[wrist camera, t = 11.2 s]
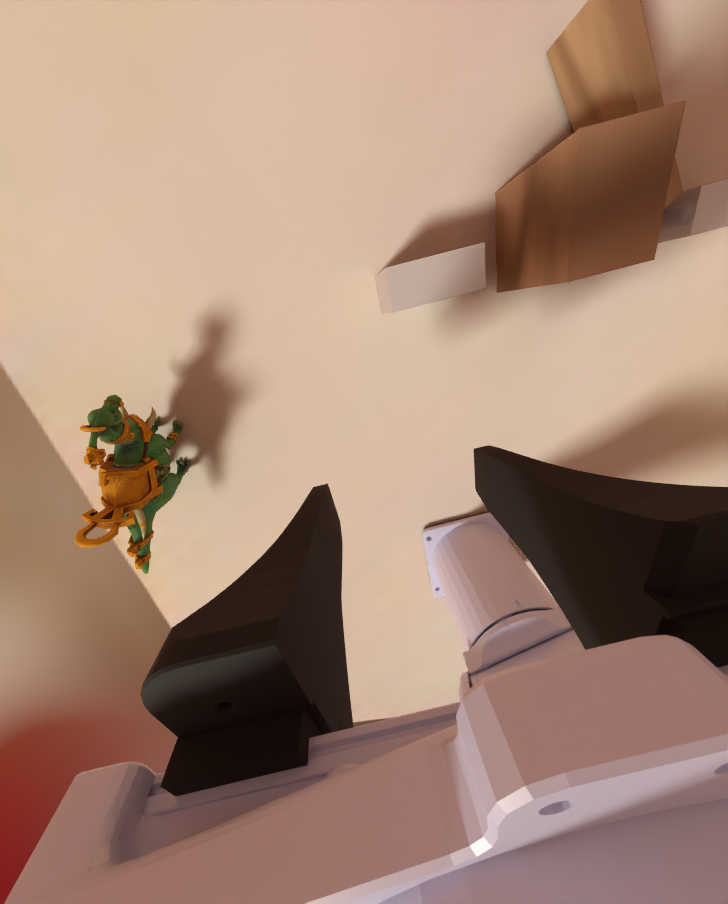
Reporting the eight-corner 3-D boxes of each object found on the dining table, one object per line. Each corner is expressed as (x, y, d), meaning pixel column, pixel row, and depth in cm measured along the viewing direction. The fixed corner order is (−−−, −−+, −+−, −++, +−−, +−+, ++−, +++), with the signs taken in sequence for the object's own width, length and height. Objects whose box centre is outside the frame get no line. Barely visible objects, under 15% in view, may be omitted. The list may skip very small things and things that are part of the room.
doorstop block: (557, 276, 18) (654, 259, 13) (496, 292, 18) (567, 281, 13) (564, 174, 16) (685, 101, 10) (495, 192, 16) (579, 128, 10)
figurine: (186, 381, 18) (90, 424, 11) (200, 527, 23) (140, 623, 16) (134, 374, 18) (-4, 414, 10) (159, 524, 23) (78, 623, 15)
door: (606, 227, 17) (663, 209, 14) (546, 52, 13) (604, -19, 11) (635, 202, 16) (699, 178, 14) (580, 16, 13) (650, -69, 10)
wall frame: (691, 233, 18) (778, 213, 14) (381, 313, 18) (393, 312, 14) (701, 192, 17) (796, 160, 13) (375, 277, 17) (386, 266, 13)
